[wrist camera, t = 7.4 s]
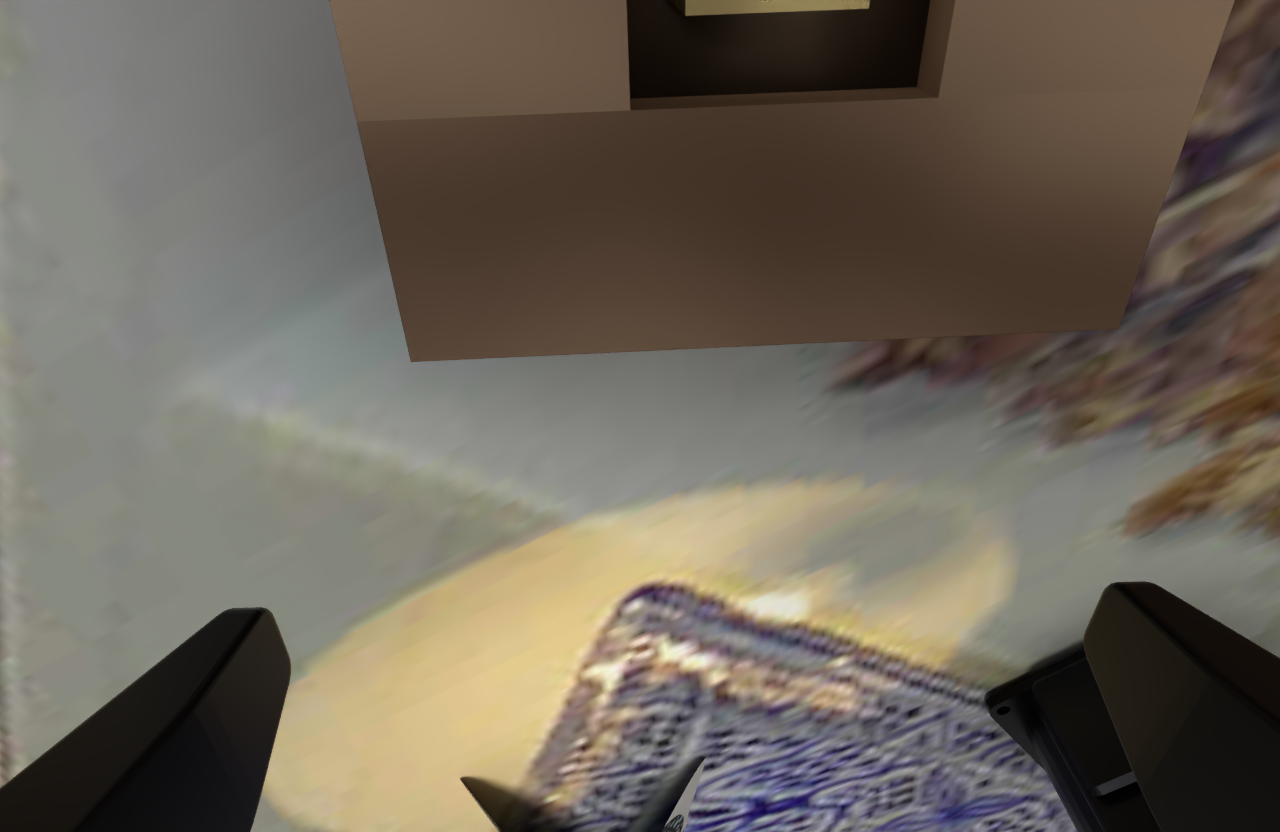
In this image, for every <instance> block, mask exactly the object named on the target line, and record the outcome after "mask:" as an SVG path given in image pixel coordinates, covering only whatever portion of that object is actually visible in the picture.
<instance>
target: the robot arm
mask: <svg viewBox="0 0 1280 832" xmlns="http://www.w3.org/2000/svg"><path fill="white" fill-rule="evenodd" d="M1084 649H1085V651H1083V652H1081V653H1079V654H1076V655H1074V656H1072V657H1070V658H1068V659H1066V660H1064V661H1062V662H1060V663H1058V664H1056V665H1054V666H1052V667H1050V668H1048V669H1045V670H1043V671H1041V672H1039V673H1037V674H1035V675H1033V676H1031V677H1029V678H1027V679H1025V680H1023V681H1021V682H1019V683H1017V684H1015V685H1012V686H1010V687H1008V688H1006V689H1004V690H1002V691H1000V692H998V693H996V694H994V695H992V696H991V697H989V698H988V699H987V700H986V702H985V705H986V707H987V709H988V711H989V713H990V715H991V717H992V718H993V719H994V720H995V721H996V722H997V723H998V724H999V725H1000V726H1001V727H1002V728H1003V729H1004V730H1005V731H1006V732H1007V733H1008V734H1009V735H1010V736H1011V737H1012V738H1013V739H1014V740H1015V741H1016V742H1017V743H1018V744H1019V745H1020V746H1021V747H1022V748H1023V749H1024V750H1025V751H1026V752H1027V753H1028V754H1029V755H1030V756H1031V757H1032V758H1033V759H1034V760H1035V761H1036V762H1037V763H1038V764H1039V765H1040V766H1041V767H1042V768H1043V769H1044V770H1045V771H1046V773H1047V774H1048V776H1049V778H1050V780H1051V782H1052V784H1053V786H1054V788H1055V790H1056V792H1057V793H1058V795H1059V797H1060V799H1061V801H1062V803H1063V805H1064V807H1065V809H1066V810H1067V812H1068V814H1069V816H1070V818H1071V820H1072V822H1073V824H1074V826H1075V827H1076V829H1077V831H1078V832H1280V658H1278V657H1277V656H1275V655H1273V654H1272V653H1270V652H1268V651H1267V650H1265V649H1263V648H1262V647H1260V646H1258V645H1257V644H1255V643H1253V642H1252V641H1250V640H1248V639H1247V638H1245V637H1243V636H1242V635H1240V634H1238V633H1237V632H1235V631H1233V630H1232V629H1230V628H1228V627H1227V626H1225V625H1223V624H1222V623H1220V622H1218V621H1217V620H1215V619H1213V618H1211V617H1210V616H1208V615H1206V614H1205V613H1203V612H1201V611H1200V610H1198V609H1196V608H1195V607H1193V606H1191V605H1190V604H1188V603H1186V602H1185V601H1183V600H1181V599H1180V598H1178V597H1176V596H1175V595H1173V594H1171V593H1170V592H1168V591H1166V590H1165V589H1163V588H1161V587H1159V586H1158V585H1156V584H1153V583H1150V582H1116V583H1112V584H1110V585H1109V586H1107V587H1106V588H1105V590H1104V591H1103V593H1102V595H1101V597H1100V600H1099V602H1098V604H1097V606H1096V609H1095V611H1094V613H1093V615H1092V618H1091V620H1090V622H1089V624H1088V626H1087V629H1086V631H1085V634H1084ZM290 676H291V662H290V657H289V654H288V652H287V649H286V646H285V644H284V641H283V639H282V636H281V633H280V631H279V628H278V626H277V623H276V621H275V618H274V616H273V614H272V613H271V612H270V611H269V610H268V609H267V608H262V607H256V608H232V609H228V610H226V611H224V612H222V613H221V614H219V615H218V616H216V617H215V618H214V619H213V620H211V621H210V622H209V623H208V624H206V625H205V626H204V627H203V628H201V629H200V630H199V631H198V632H196V633H195V634H194V635H192V636H191V637H190V638H189V639H187V640H186V641H185V642H184V643H182V644H181V645H180V646H179V647H177V648H176V649H175V650H174V651H172V652H171V653H170V654H169V655H167V656H166V657H165V658H164V659H162V660H161V661H160V662H158V663H157V664H156V665H155V666H153V667H152V668H151V669H150V670H148V671H147V672H146V673H145V674H143V675H142V676H141V677H140V678H138V679H137V680H136V681H135V682H133V683H132V684H131V685H130V686H128V687H127V688H126V689H124V690H123V691H122V692H121V693H119V694H118V695H117V696H116V697H114V698H113V699H112V700H111V701H109V702H108V703H107V704H106V705H104V706H103V707H102V708H101V709H99V710H98V711H97V712H96V713H94V714H93V715H92V716H90V717H89V718H88V719H87V720H85V721H84V722H83V723H82V724H80V725H79V726H78V727H77V728H75V729H74V730H73V731H72V732H70V733H69V734H68V735H67V736H65V737H64V738H63V739H62V740H60V741H59V742H58V743H56V744H55V745H54V746H53V747H51V748H50V749H49V750H48V751H46V752H45V753H44V754H43V755H41V756H40V757H39V758H38V759H36V760H35V761H34V762H33V763H31V764H30V765H29V766H28V767H26V768H25V769H24V770H22V771H21V772H20V773H19V774H17V775H16V776H15V777H14V778H12V779H11V780H10V781H9V782H7V783H6V784H5V785H4V786H2V787H1V788H0V832H250V831H251V828H252V825H253V822H254V818H255V815H256V811H257V808H258V804H259V801H260V797H261V793H262V789H263V785H264V781H265V777H266V773H267V769H268V765H269V761H270V757H271V753H272V749H273V745H274V741H275V738H276V734H277V730H278V726H279V722H280V718H281V714H282V710H283V706H284V702H285V698H286V694H287V690H288V686H289V682H290Z"/></svg>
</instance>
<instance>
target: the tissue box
mask: <svg viewBox="0 0 1280 832" xmlns="http://www.w3.org/2000/svg"><path fill="white" fill-rule="evenodd" d="M1234 1H1235V0H870V3H869V9H845V10H820V11H795V12H769V13H744V14H719V15H694V16H685V15H684V14H683V13H682V12H681V11H680V10H679V9H678V8H677V7H676V6H675V5H674V4H673V3H672V2H671V1H670V0H330V5H331V9H332V14H333V18H334V22H335V27H336V31H337V36H338V40H339V45H340V49H341V54H342V58H343V62H344V67H345V71H346V76H347V80H348V85H349V89H350V93H351V98H352V102H353V107H354V111H355V116H356V120H357V125H358V129H359V133H360V138H361V142H362V147H363V151H364V156H365V160H366V165H367V169H368V173H369V178H370V182H371V187H372V191H373V196H374V200H375V205H376V209H377V213H378V218H379V222H380V227H381V231H382V236H383V240H384V245H385V249H386V253H387V258H388V262H389V267H390V271H391V276H392V280H393V285H394V289H395V293H396V298H397V302H398V307H399V311H400V316H401V320H402V325H403V329H404V333H405V338H406V342H407V347H408V351H409V356H410V360H411V362H418V361H440V360H461V359H483V358H504V357H526V356H547V355H568V354H590V353H611V352H633V351H654V350H676V349H697V348H719V347H740V346H761V345H783V344H804V343H826V342H847V341H869V340H890V339H911V338H933V337H954V336H976V335H997V334H1019V333H1040V332H1062V331H1083V330H1104V329H1119V326H1120V323H1121V320H1122V318H1123V315H1124V312H1125V309H1126V306H1127V303H1128V301H1129V298H1130V295H1131V292H1132V289H1133V287H1134V284H1135V281H1136V278H1137V275H1138V272H1139V270H1140V267H1141V264H1142V261H1143V258H1144V255H1145V253H1146V250H1147V247H1148V244H1149V241H1150V238H1151V236H1152V233H1153V230H1154V227H1155V224H1156V222H1157V219H1158V216H1159V213H1160V210H1161V207H1162V205H1163V202H1164V199H1165V196H1166V193H1167V190H1168V188H1169V185H1170V182H1171V179H1172V176H1173V174H1174V171H1175V168H1176V165H1177V162H1178V159H1179V157H1180V154H1181V151H1182V148H1183V145H1184V142H1185V140H1186V137H1187V134H1188V131H1189V128H1190V125H1191V123H1192V120H1193V117H1194V114H1195V111H1196V109H1197V106H1198V103H1199V100H1200V97H1201V94H1202V92H1203V89H1204V86H1205V83H1206V80H1207V77H1208V75H1209V72H1210V69H1211V66H1212V63H1213V60H1214V58H1215V55H1216V52H1217V49H1218V46H1219V44H1220V41H1221V38H1222V35H1223V32H1224V29H1225V27H1226V24H1227V21H1228V18H1229V15H1230V12H1231V10H1232V7H1233V4H1234Z"/></svg>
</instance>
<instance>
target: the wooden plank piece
mask: <svg viewBox="0 0 1280 832" xmlns="http://www.w3.org/2000/svg"><path fill="white" fill-rule="evenodd" d="M670 1H671V2H672V3H673V4H674V5H675V6H676V7H677V8H678V9H679V10H680V11H681V12H682V13H683V14H684V15H685V16H694V15H719V14H744V13H769V12H795V11H820V10H845V9H869V3H870V0H670Z"/></svg>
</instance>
